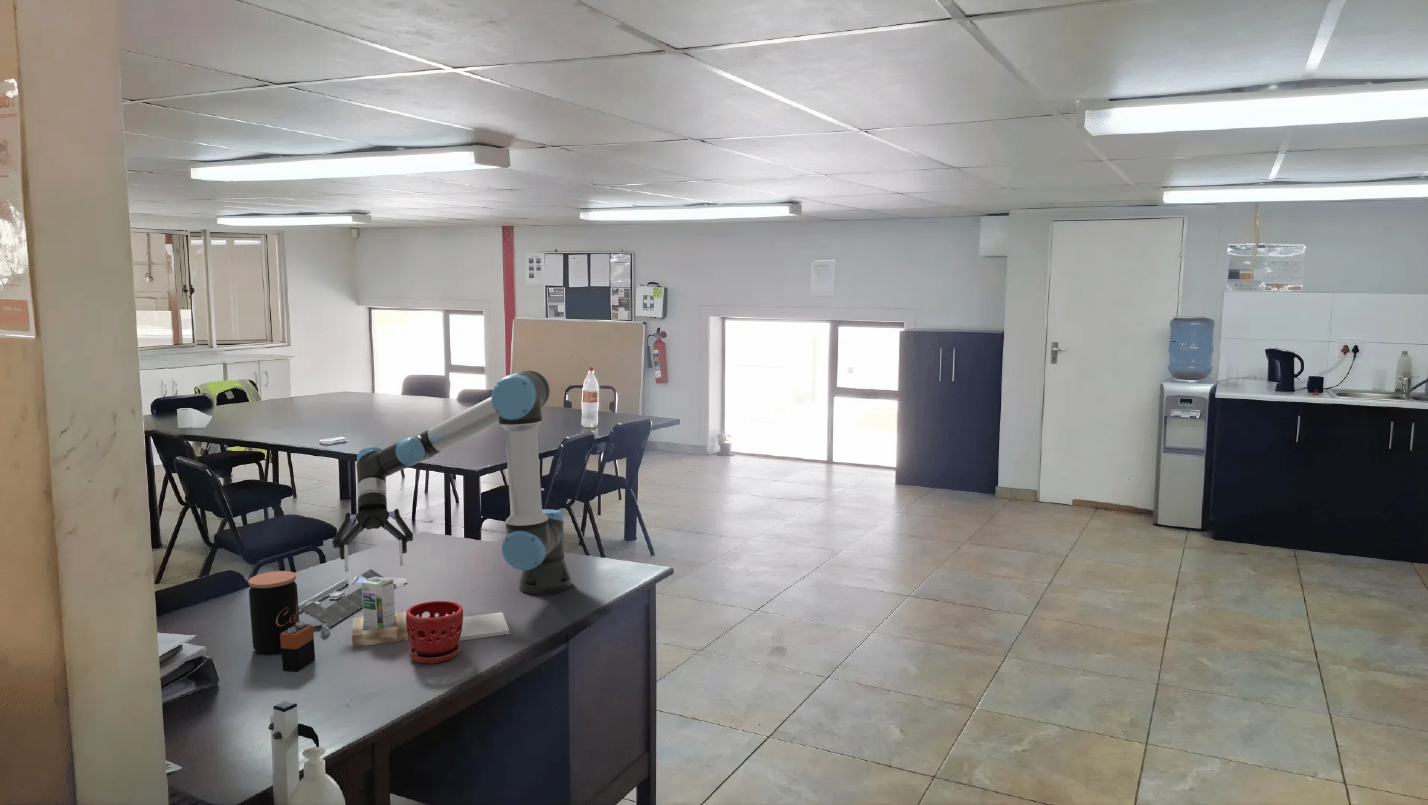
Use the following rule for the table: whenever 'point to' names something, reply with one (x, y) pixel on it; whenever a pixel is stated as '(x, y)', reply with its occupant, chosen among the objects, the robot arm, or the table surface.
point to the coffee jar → (272, 609)
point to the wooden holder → (379, 632)
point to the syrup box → (378, 603)
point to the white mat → (483, 626)
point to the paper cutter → (340, 601)
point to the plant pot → (434, 631)
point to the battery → (297, 647)
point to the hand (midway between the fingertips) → (374, 566)
